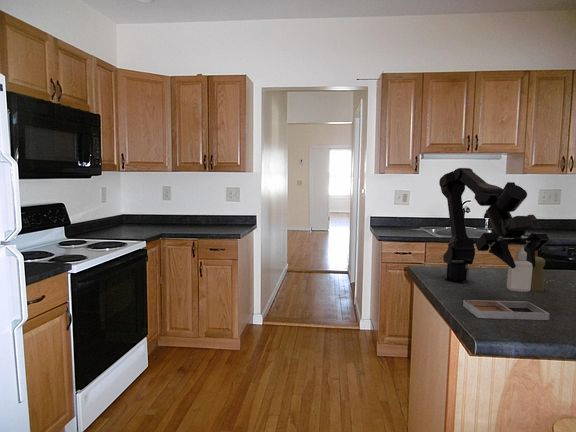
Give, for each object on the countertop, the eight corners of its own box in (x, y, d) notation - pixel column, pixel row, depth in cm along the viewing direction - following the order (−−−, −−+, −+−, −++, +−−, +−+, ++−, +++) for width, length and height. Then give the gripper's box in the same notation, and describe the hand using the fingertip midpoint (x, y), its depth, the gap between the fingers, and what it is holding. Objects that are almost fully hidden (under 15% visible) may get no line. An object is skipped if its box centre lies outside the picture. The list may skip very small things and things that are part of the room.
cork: (547, 292, 128) (550, 259, 127) (527, 290, 130) (530, 258, 128) (539, 286, 134) (542, 255, 133) (520, 285, 135) (523, 254, 134)
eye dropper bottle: (529, 293, 104) (533, 249, 103) (505, 289, 108) (509, 246, 106) (531, 290, 108) (535, 247, 106) (507, 286, 111) (511, 244, 109)
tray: (478, 318, 104) (478, 311, 104) (463, 305, 113) (463, 299, 113) (549, 320, 103) (549, 313, 103) (527, 307, 113) (528, 301, 113)
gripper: (484, 203, 108) (506, 251, 98) (548, 204, 109) (575, 251, 100) (467, 227, 117) (485, 273, 107) (526, 228, 118) (549, 273, 109)
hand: (524, 267), depth 105 cm, fingers closed on eye dropper bottle, 5 cm apart
